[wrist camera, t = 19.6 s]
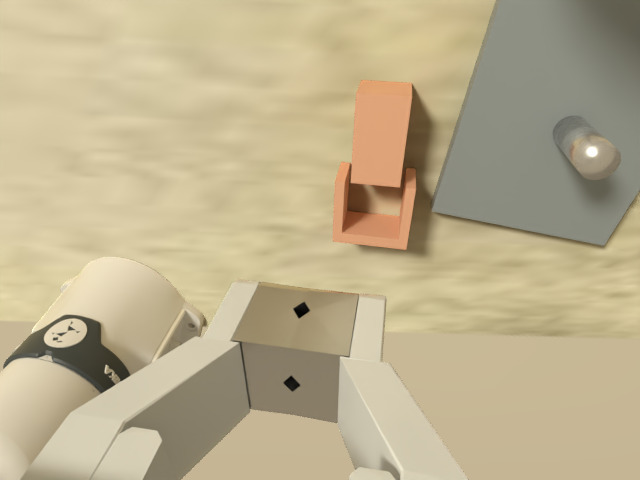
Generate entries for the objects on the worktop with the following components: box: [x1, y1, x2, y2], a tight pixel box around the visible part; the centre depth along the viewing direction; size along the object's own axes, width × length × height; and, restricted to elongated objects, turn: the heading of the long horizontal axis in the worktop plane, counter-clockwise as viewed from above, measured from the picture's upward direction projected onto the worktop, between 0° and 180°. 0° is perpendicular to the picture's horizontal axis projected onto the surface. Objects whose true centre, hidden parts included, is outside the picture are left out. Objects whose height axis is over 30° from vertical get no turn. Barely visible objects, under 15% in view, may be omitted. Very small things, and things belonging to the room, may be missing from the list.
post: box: [553, 115, 621, 180], centre depth 27 cm, size 10×2×6 cm, turn 151°
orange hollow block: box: [333, 80, 416, 250], centre depth 36 cm, size 13×7×4 cm, turn 179°
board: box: [431, 0, 640, 246], centre depth 31 cm, size 22×15×2 cm
